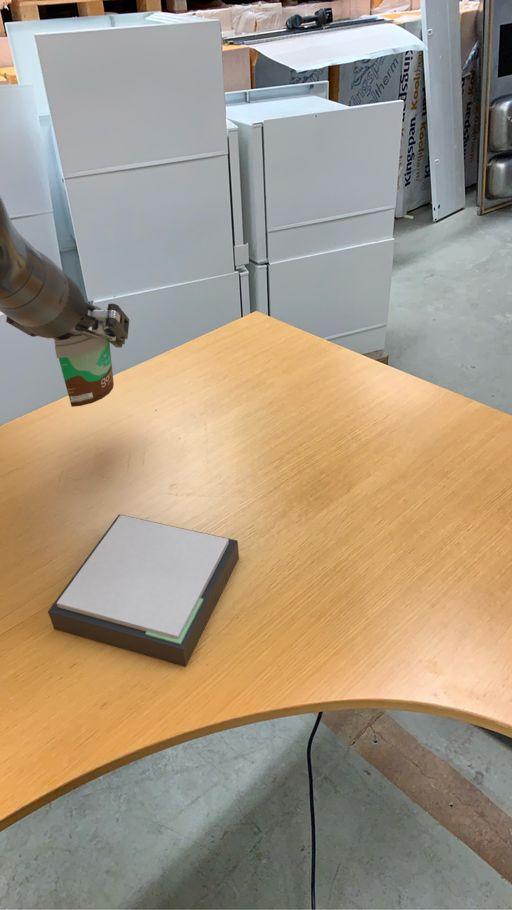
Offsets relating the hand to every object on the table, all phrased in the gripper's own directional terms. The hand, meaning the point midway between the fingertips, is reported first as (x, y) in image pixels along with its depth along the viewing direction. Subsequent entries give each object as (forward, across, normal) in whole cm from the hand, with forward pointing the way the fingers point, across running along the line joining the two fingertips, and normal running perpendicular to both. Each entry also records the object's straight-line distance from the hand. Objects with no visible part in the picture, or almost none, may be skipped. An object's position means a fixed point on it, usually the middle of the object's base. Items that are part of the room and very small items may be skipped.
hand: (93, 339), depth 87 cm
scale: (-5, -13, +31) cm, 34 cm away
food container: (+4, 0, +6) cm, 7 cm away
